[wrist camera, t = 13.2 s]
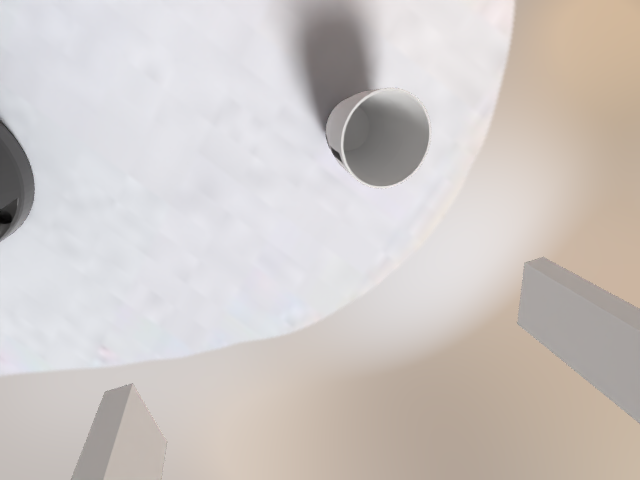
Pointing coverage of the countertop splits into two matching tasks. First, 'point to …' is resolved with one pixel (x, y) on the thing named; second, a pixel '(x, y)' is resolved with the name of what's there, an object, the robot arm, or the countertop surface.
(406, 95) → the cup
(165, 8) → the countertop surface
